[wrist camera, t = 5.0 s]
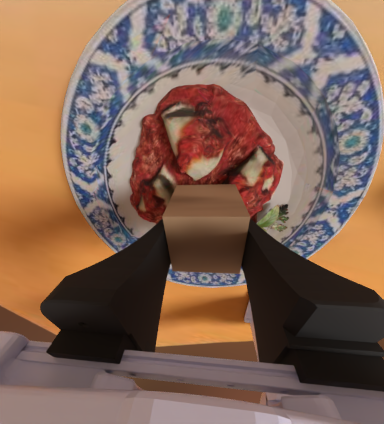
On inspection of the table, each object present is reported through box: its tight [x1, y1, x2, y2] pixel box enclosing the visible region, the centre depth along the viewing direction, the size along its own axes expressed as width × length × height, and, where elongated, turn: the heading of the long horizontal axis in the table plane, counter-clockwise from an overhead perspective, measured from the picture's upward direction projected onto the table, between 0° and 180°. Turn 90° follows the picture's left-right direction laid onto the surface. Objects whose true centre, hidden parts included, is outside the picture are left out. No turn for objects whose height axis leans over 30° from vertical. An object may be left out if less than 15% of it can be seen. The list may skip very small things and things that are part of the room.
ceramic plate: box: [61, 0, 384, 288], centre depth 14 cm, size 26×26×3 cm
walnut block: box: [162, 184, 250, 274], centre depth 11 cm, size 4×4×4 cm
